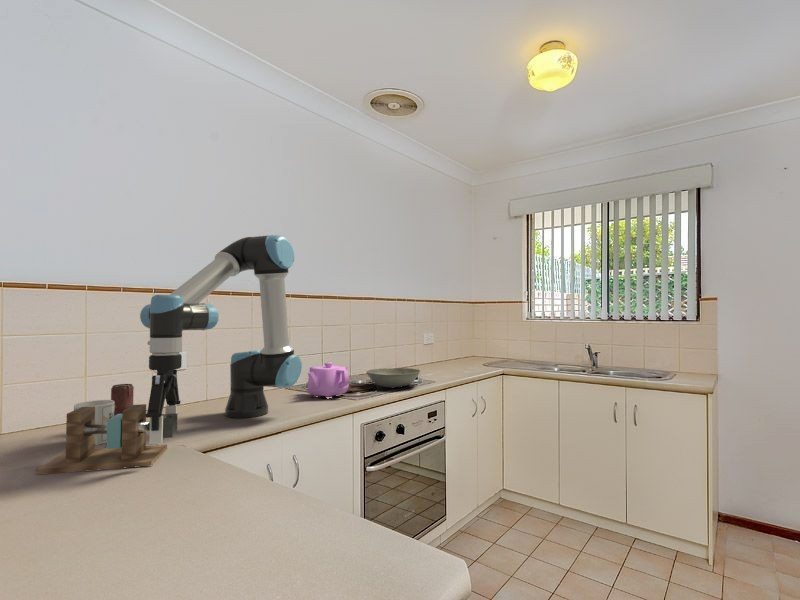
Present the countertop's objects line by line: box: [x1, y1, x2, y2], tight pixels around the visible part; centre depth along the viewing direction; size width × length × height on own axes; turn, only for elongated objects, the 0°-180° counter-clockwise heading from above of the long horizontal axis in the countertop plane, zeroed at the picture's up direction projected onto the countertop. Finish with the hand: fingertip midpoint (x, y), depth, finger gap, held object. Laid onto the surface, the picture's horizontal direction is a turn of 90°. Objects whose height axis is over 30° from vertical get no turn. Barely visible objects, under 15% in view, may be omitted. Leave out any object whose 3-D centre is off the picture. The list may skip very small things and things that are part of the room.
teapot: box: [307, 361, 350, 398], centre depth 199 cm, size 19×18×15 cm
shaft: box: [84, 412, 178, 439], centre depth 114 cm, size 21×5×5 cm, turn 104°
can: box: [110, 383, 135, 416], centre depth 143 cm, size 6×6×14 cm
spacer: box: [106, 414, 122, 449], centre depth 113 cm, size 3×7×7 cm, turn 14°
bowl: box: [365, 367, 421, 388], centre depth 225 cm, size 27×28×8 cm
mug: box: [73, 399, 115, 446], centre depth 128 cm, size 10×12×11 cm
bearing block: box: [36, 403, 168, 475], centre depth 112 cm, size 24×14×13 cm, turn 104°
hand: (163, 436), depth 115 cm, fingers open, 13 cm apart
